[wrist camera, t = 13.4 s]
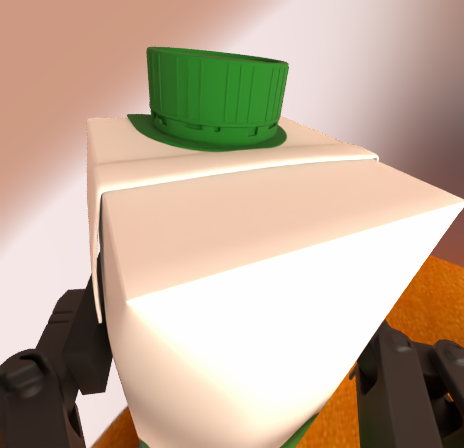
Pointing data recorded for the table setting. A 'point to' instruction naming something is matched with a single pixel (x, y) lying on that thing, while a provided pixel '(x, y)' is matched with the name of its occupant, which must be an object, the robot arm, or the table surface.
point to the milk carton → (242, 252)
